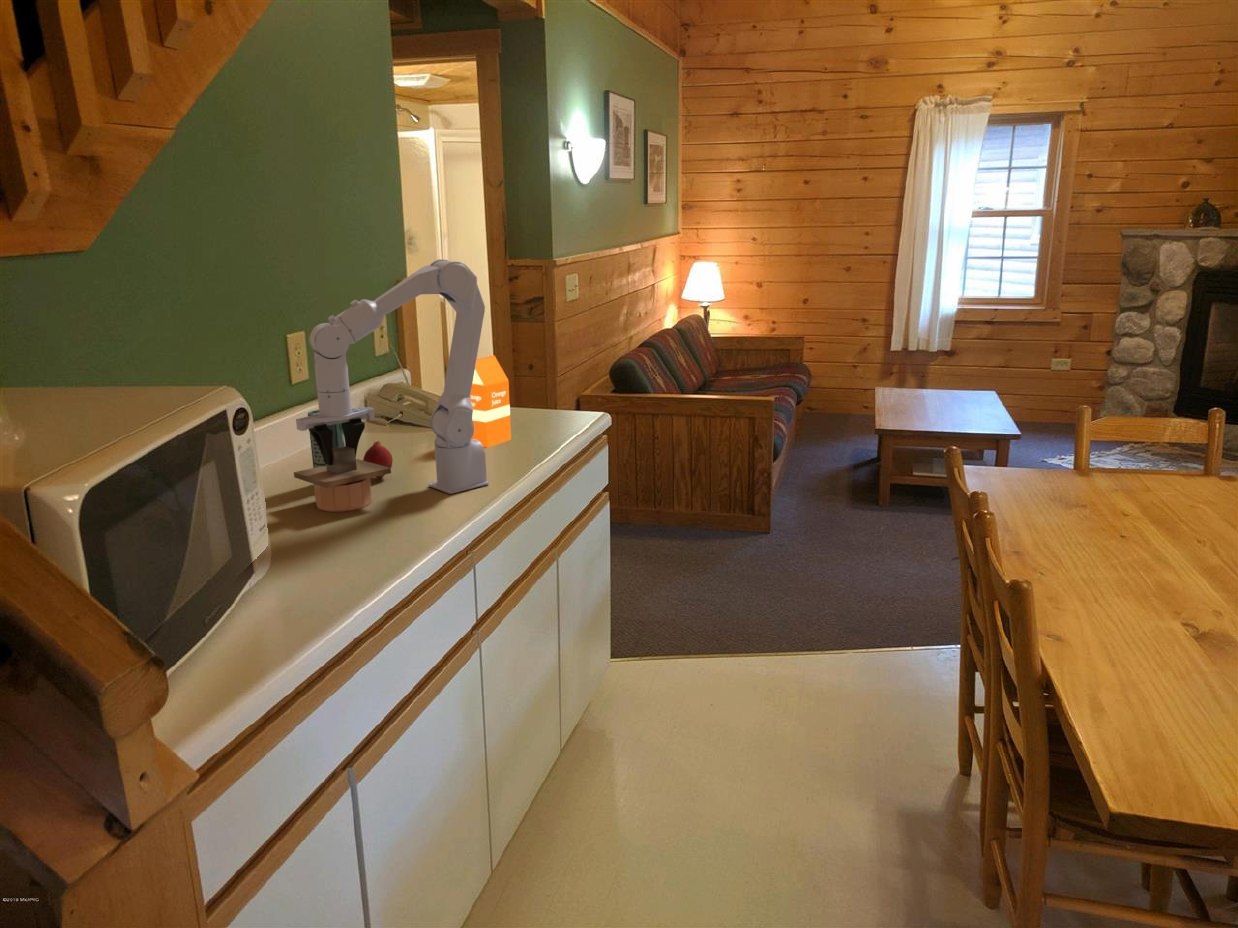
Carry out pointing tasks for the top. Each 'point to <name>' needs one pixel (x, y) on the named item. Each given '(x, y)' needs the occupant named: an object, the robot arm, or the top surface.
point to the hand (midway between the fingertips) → (340, 461)
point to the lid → (342, 470)
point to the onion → (378, 456)
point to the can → (336, 442)
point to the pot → (343, 496)
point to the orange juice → (490, 403)
